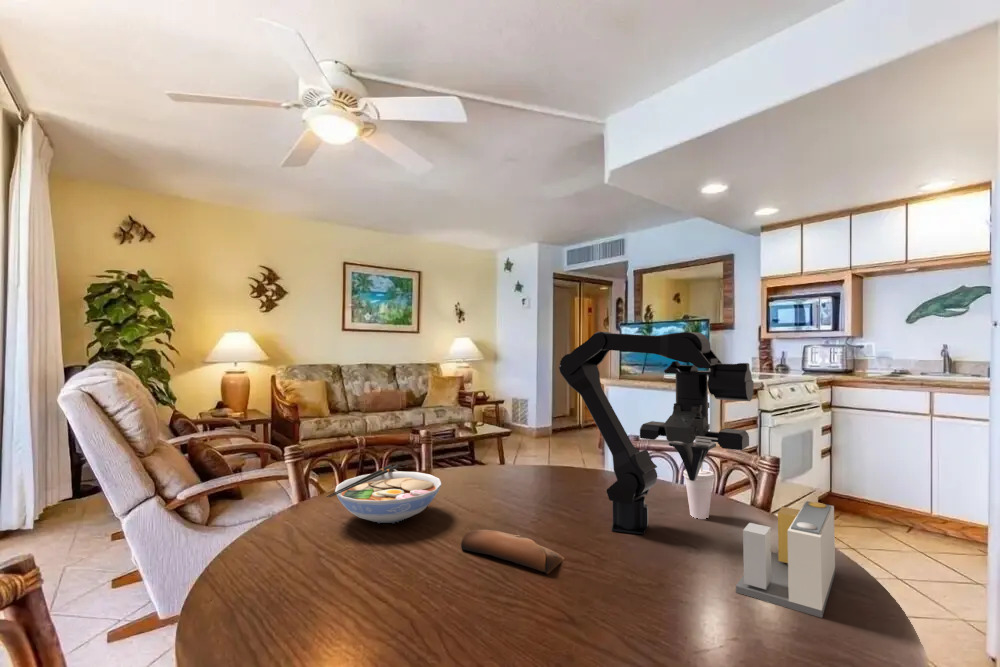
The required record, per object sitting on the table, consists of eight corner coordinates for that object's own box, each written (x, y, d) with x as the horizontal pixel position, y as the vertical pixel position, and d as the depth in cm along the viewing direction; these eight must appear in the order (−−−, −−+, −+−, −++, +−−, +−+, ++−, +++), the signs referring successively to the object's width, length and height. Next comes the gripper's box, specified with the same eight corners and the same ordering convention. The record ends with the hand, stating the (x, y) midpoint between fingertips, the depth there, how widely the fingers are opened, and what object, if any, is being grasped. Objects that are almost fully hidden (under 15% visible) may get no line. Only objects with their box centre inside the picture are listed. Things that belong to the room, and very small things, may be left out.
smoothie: (718, 522, 104) (717, 456, 104) (686, 520, 105) (685, 454, 105) (711, 512, 110) (710, 449, 110) (681, 510, 111) (680, 448, 112)
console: (736, 592, 75) (734, 516, 75) (761, 555, 88) (759, 490, 88) (822, 617, 68) (820, 533, 68) (835, 573, 81) (833, 502, 81)
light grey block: (743, 583, 74) (743, 530, 74) (750, 573, 77) (749, 522, 78) (765, 589, 72) (765, 534, 73) (771, 579, 75) (770, 527, 76)
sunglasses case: (569, 557, 87) (560, 530, 84) (553, 591, 82) (543, 564, 79) (486, 535, 97) (476, 511, 94) (468, 565, 92) (456, 540, 89)
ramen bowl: (405, 547, 92) (405, 503, 92) (306, 532, 99) (306, 491, 100) (460, 506, 115) (460, 471, 115) (377, 496, 123) (377, 463, 123)
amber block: (778, 560, 82) (777, 512, 82) (783, 553, 85) (782, 506, 85) (799, 566, 80) (798, 516, 80) (803, 557, 83) (802, 510, 83)
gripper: (627, 398, 93) (628, 481, 93) (733, 405, 81) (734, 500, 81) (650, 393, 102) (651, 469, 101) (749, 399, 90) (750, 485, 89)
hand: (692, 480), depth 93 cm, fingers closed
